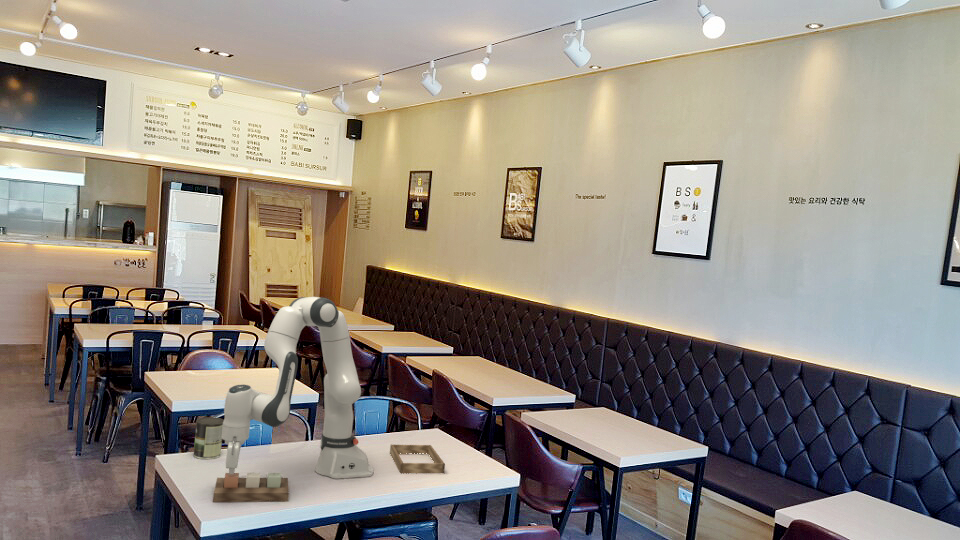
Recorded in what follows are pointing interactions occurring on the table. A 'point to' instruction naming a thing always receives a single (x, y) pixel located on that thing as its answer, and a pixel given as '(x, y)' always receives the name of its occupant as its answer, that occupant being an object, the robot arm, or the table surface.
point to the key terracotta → (231, 480)
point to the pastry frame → (417, 467)
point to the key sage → (274, 480)
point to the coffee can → (208, 438)
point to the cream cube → (252, 480)
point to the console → (251, 492)
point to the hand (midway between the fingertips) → (231, 473)
